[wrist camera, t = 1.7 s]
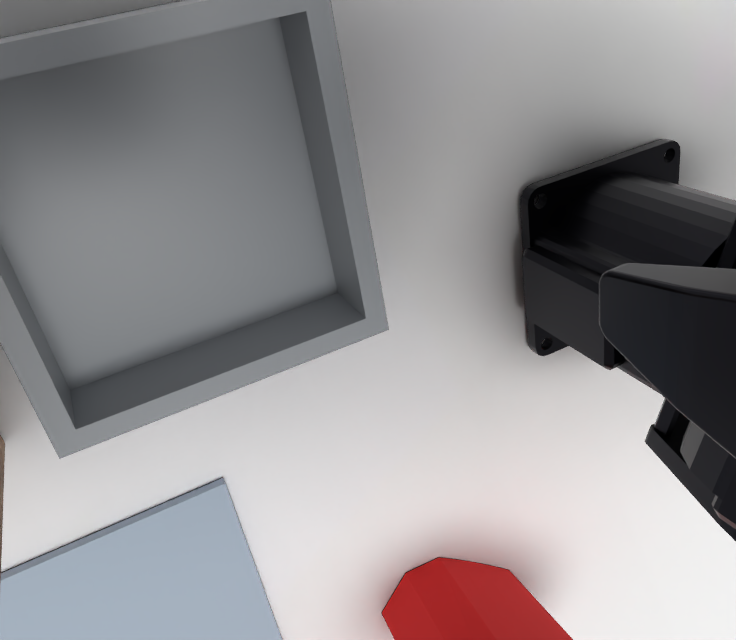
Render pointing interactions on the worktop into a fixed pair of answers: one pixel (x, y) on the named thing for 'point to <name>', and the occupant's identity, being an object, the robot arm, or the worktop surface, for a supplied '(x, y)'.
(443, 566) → the french fries
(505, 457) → the worktop surface
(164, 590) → the mat
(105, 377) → the tray
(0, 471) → the brown knobbed box
